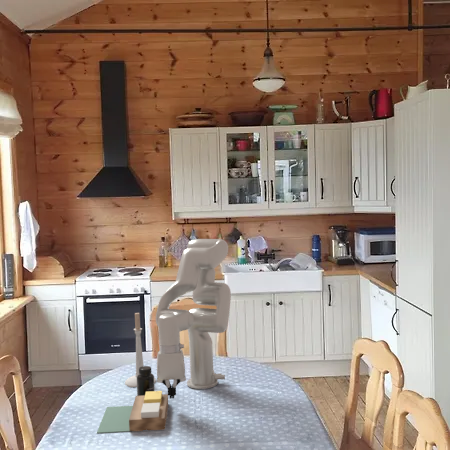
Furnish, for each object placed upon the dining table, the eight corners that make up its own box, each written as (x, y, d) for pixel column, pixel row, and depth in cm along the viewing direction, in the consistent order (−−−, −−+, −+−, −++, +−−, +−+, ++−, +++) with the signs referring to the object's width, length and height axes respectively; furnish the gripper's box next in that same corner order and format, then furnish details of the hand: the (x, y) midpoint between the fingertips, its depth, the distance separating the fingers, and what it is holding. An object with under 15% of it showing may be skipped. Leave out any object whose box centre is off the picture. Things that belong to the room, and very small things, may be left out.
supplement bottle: (151, 401, 224) (150, 371, 223) (134, 400, 226) (133, 370, 225) (157, 394, 231) (155, 365, 230) (140, 394, 232) (139, 364, 231)
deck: (168, 404, 221) (167, 394, 220) (165, 429, 199) (164, 418, 199) (136, 406, 220) (135, 395, 220) (129, 431, 198) (128, 420, 198)
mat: (139, 406, 220) (139, 405, 220) (132, 431, 198) (132, 430, 198) (107, 407, 220) (106, 407, 220) (96, 433, 198) (96, 432, 198)
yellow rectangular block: (162, 395, 219) (162, 390, 219) (160, 404, 211) (160, 398, 211) (146, 396, 219) (145, 391, 218) (144, 405, 211) (143, 399, 210)
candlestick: (120, 381, 248) (116, 311, 245) (147, 375, 255) (144, 307, 252) (132, 390, 237) (129, 317, 235) (161, 383, 244) (157, 312, 242)
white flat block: (160, 408, 207) (160, 402, 207) (158, 417, 199) (158, 411, 199) (143, 408, 207) (143, 403, 207) (141, 418, 199) (140, 412, 199)
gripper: (190, 344, 217) (192, 392, 219) (150, 346, 217) (152, 394, 218) (190, 350, 210) (192, 399, 212) (148, 352, 209) (150, 402, 211)
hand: (172, 397), depth 215 cm, fingers closed
